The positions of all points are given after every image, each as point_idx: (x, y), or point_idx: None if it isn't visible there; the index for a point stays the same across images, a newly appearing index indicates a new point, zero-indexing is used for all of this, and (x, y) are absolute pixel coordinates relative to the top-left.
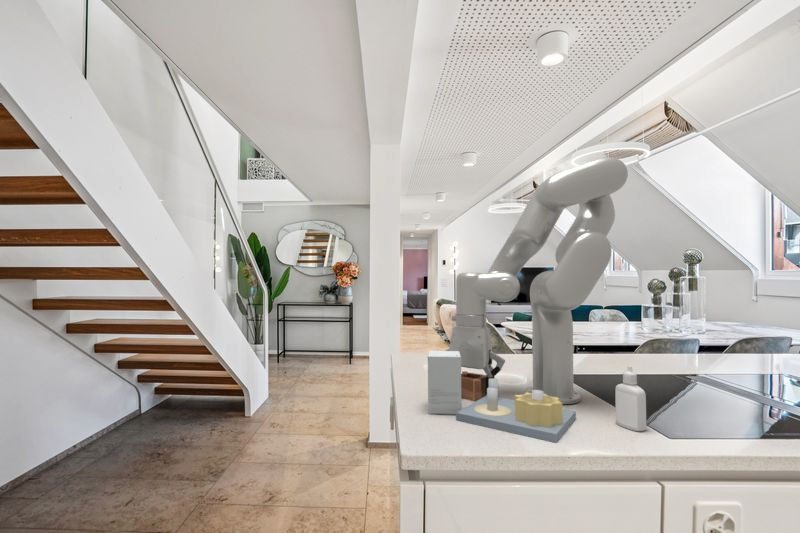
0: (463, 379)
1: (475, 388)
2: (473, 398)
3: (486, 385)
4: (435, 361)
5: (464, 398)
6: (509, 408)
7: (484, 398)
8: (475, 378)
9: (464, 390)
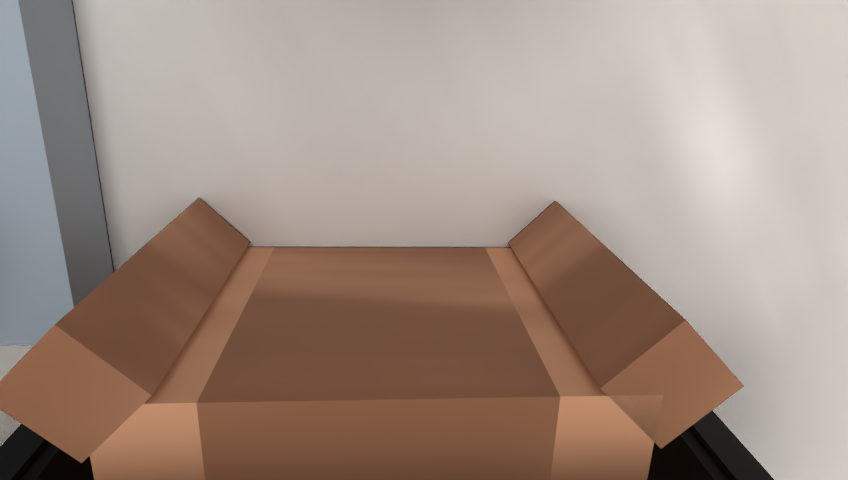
0: (431, 380)
1: (169, 289)
2: (264, 254)
3: (23, 450)
4: None
5: (397, 248)
6: None
7: (7, 176)
8: None
9: (402, 291)
